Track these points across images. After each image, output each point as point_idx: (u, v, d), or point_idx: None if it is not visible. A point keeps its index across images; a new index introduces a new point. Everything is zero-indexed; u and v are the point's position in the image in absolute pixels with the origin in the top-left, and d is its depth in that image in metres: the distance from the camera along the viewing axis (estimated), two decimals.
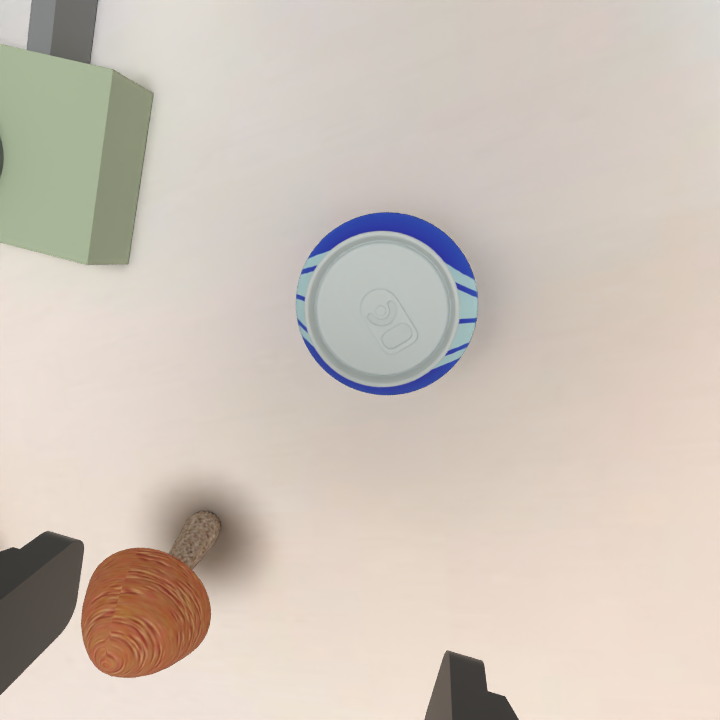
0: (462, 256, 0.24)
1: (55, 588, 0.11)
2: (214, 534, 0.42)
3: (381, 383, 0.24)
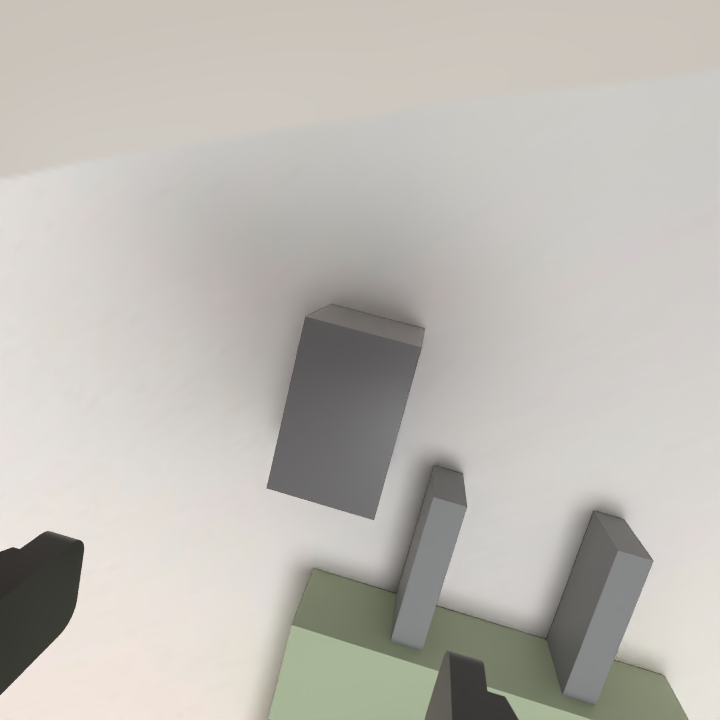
0: None
1: (55, 588, 0.11)
2: None
3: None
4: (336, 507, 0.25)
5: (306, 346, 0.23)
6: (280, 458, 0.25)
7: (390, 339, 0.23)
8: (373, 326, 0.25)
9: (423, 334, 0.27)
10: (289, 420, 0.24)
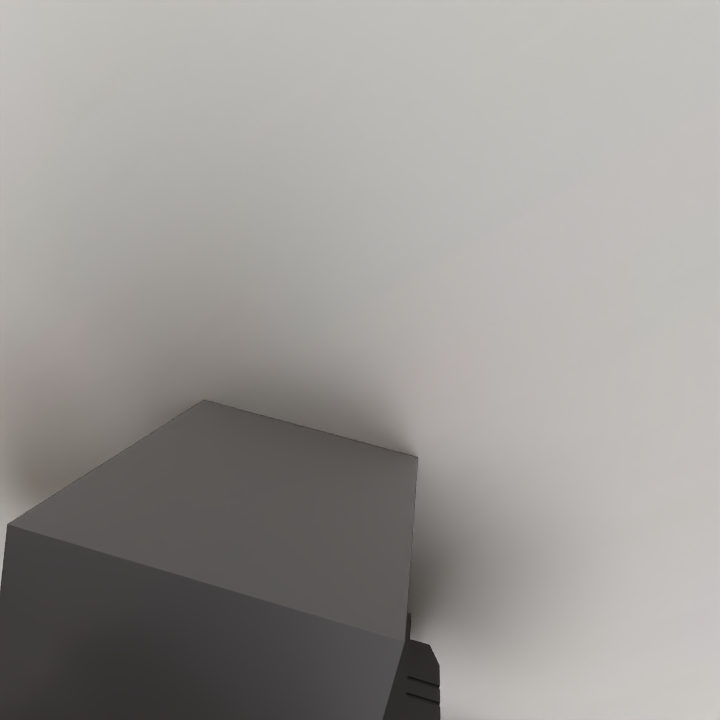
0: None
1: None
2: None
3: None
4: None
5: (21, 617, 0.07)
6: None
7: (296, 607, 0.07)
8: (267, 506, 0.09)
9: (413, 500, 0.10)
10: None
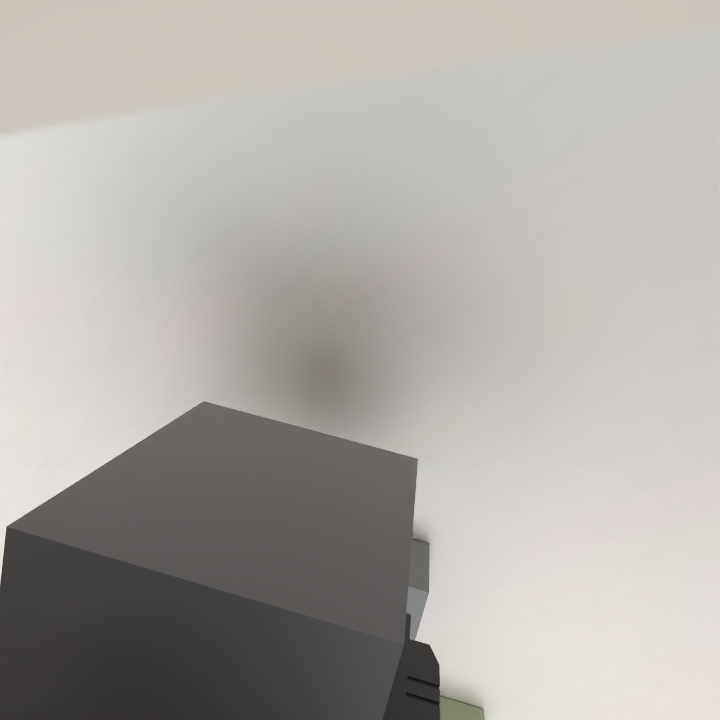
0: None
1: None
2: None
3: None
4: None
5: (20, 620, 0.07)
6: None
7: (295, 610, 0.07)
8: (267, 508, 0.09)
9: (413, 502, 0.10)
10: None
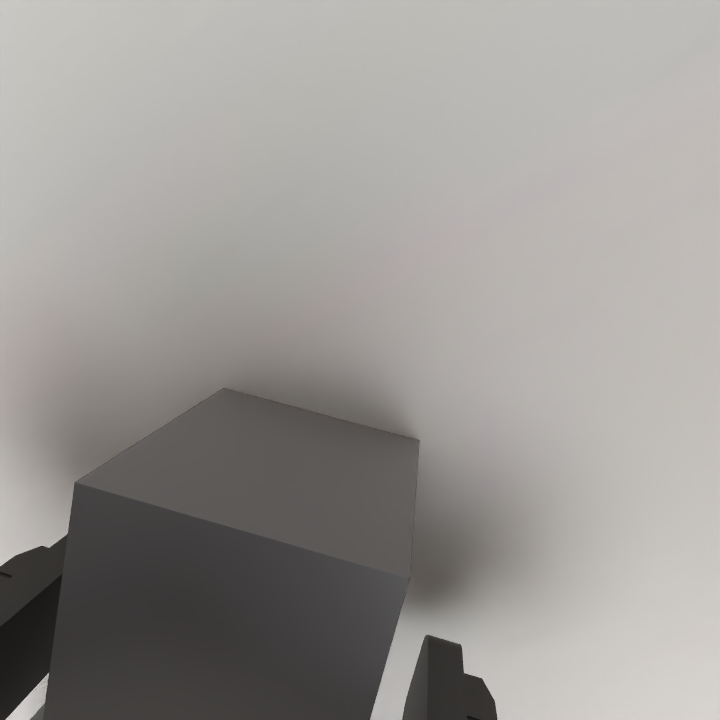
0: None
1: None
2: None
3: None
4: None
5: (85, 562, 0.08)
6: None
7: (318, 551, 0.08)
8: (289, 475, 0.10)
9: (416, 474, 0.11)
10: None
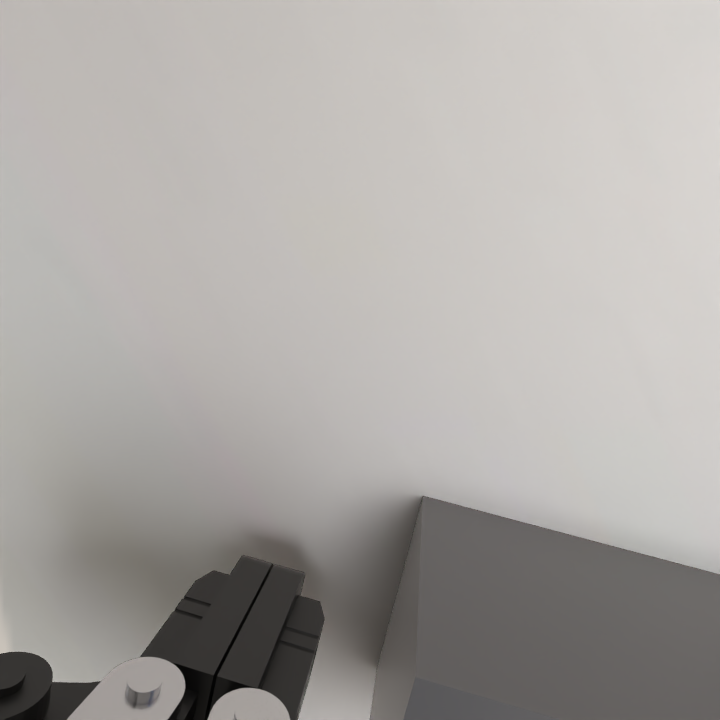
0: None
1: None
2: None
3: None
4: None
5: None
6: None
7: None
8: (388, 696, 0.10)
9: (420, 541, 0.11)
10: None
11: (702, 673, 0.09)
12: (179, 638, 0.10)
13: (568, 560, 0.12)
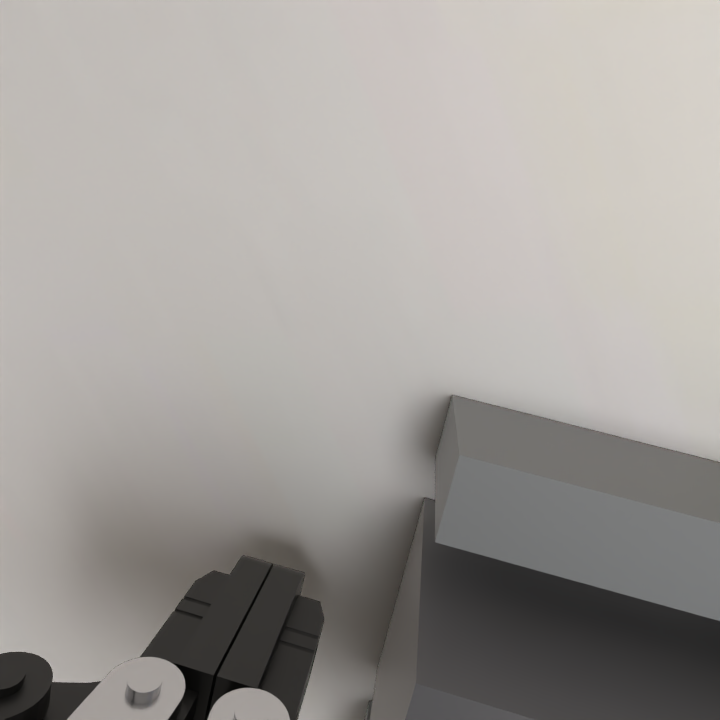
0: None
1: None
2: None
3: None
4: None
5: None
6: None
7: None
8: (388, 700, 0.10)
9: (421, 545, 0.11)
10: None
11: (706, 681, 0.09)
12: (178, 638, 0.10)
13: None
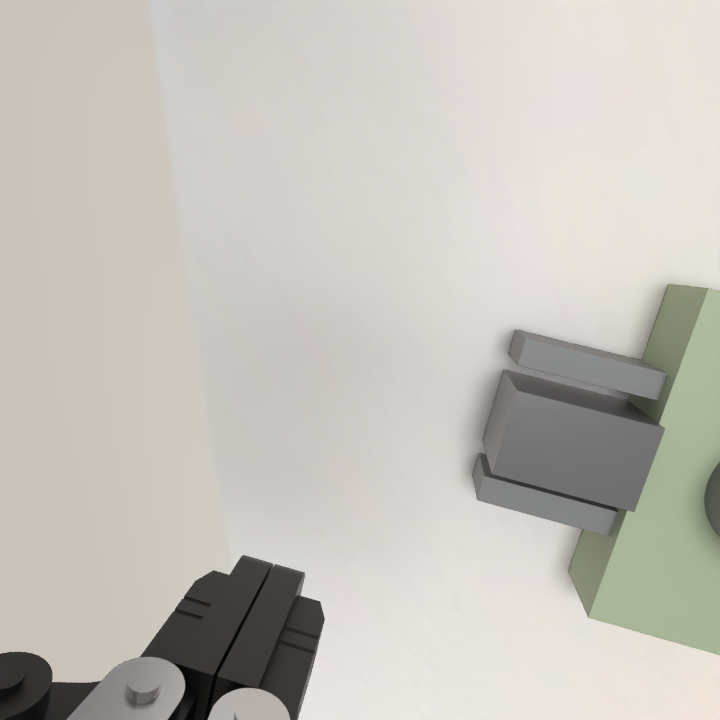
0: None
1: None
2: None
3: None
4: (653, 457, 0.30)
5: (515, 474, 0.31)
6: (607, 499, 0.31)
7: (510, 412, 0.31)
8: (500, 418, 0.33)
9: (507, 376, 0.34)
10: (575, 490, 0.31)
11: (595, 403, 0.32)
12: (178, 638, 0.10)
13: (557, 386, 0.35)
